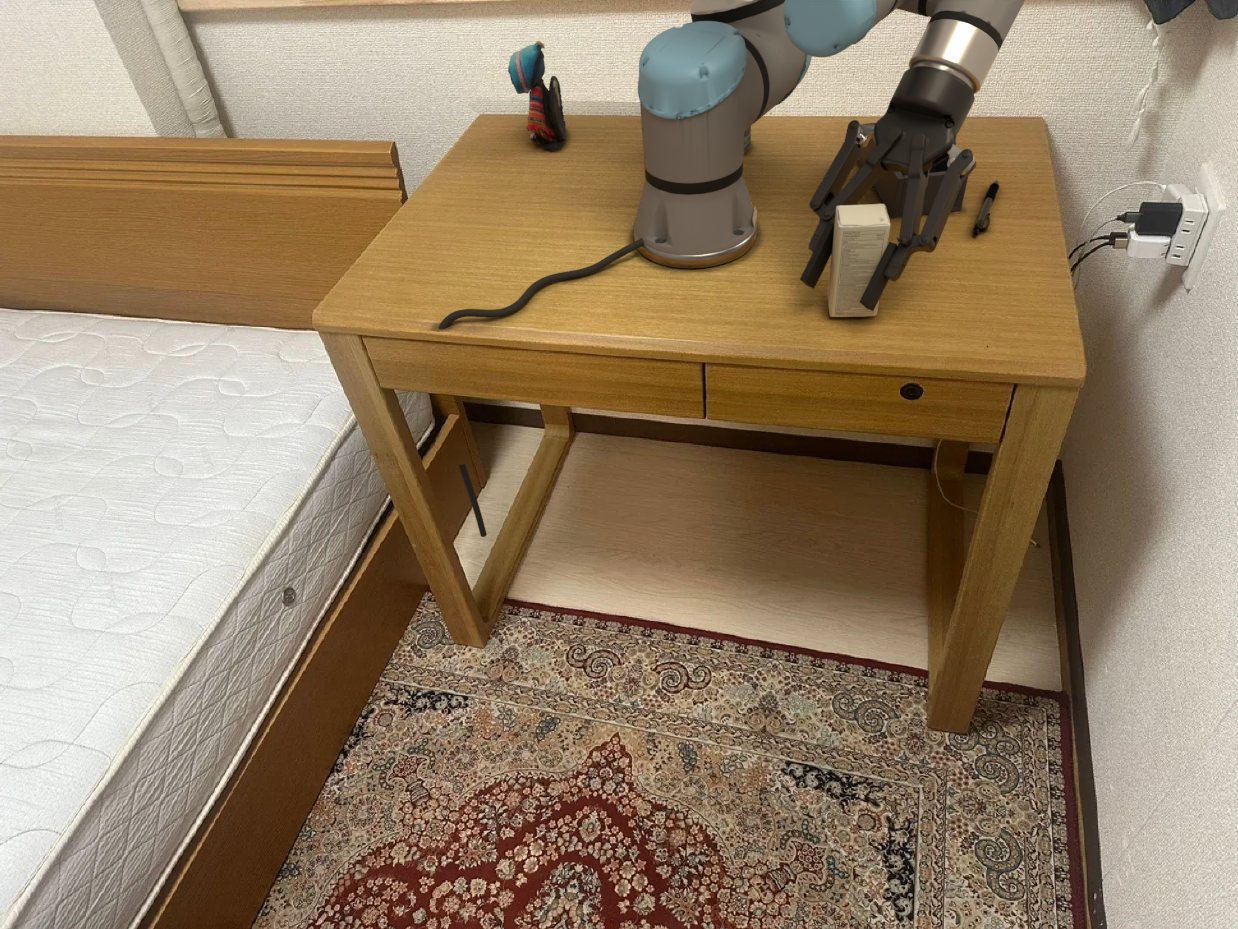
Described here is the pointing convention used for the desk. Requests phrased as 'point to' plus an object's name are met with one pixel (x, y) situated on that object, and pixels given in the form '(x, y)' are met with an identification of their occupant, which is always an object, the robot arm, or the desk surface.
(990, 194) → the pen
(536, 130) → the figurine
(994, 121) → the desk surface
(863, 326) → the desk surface
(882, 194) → the holder
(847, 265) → the box
